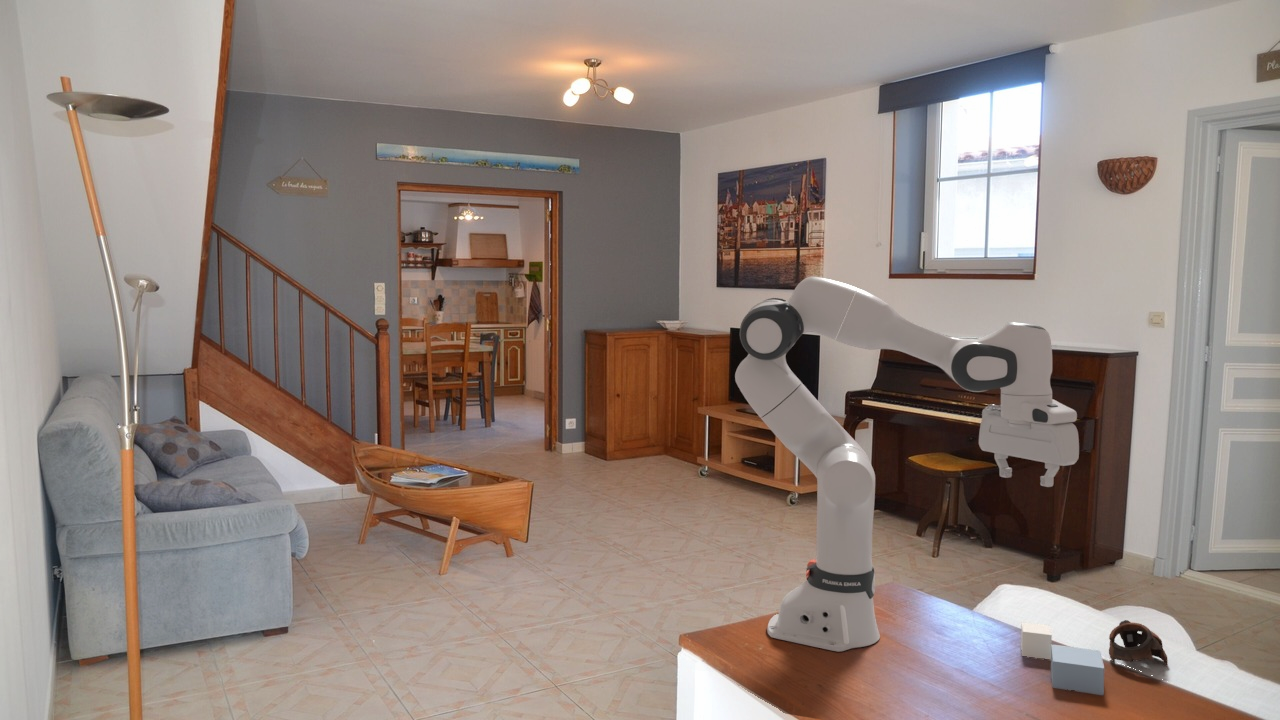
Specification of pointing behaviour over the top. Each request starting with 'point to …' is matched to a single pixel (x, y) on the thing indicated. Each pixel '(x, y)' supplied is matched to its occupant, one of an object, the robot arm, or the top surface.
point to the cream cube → (1036, 640)
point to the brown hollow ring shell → (1135, 643)
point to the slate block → (1077, 669)
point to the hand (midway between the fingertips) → (1025, 481)
